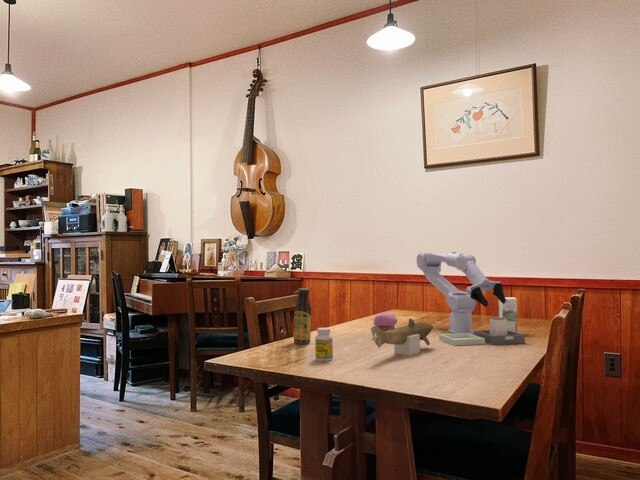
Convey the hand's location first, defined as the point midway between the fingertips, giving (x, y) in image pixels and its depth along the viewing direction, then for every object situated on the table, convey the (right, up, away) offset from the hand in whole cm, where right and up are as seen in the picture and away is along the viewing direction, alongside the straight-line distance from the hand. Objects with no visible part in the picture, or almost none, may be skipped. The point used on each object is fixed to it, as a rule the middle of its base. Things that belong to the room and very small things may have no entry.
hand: (495, 303), depth 181 cm
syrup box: (+11, -14, +17) cm, 25 cm away
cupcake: (-40, -14, +8) cm, 43 cm away
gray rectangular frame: (+1, -14, +1) cm, 14 cm away
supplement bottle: (-64, -14, -29) cm, 71 cm away
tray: (-13, -14, -1) cm, 19 cm away
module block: (+1, -14, +1) cm, 14 cm away
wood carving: (-38, -14, -22) cm, 46 cm away
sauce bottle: (-72, -14, -2) cm, 73 cm away
